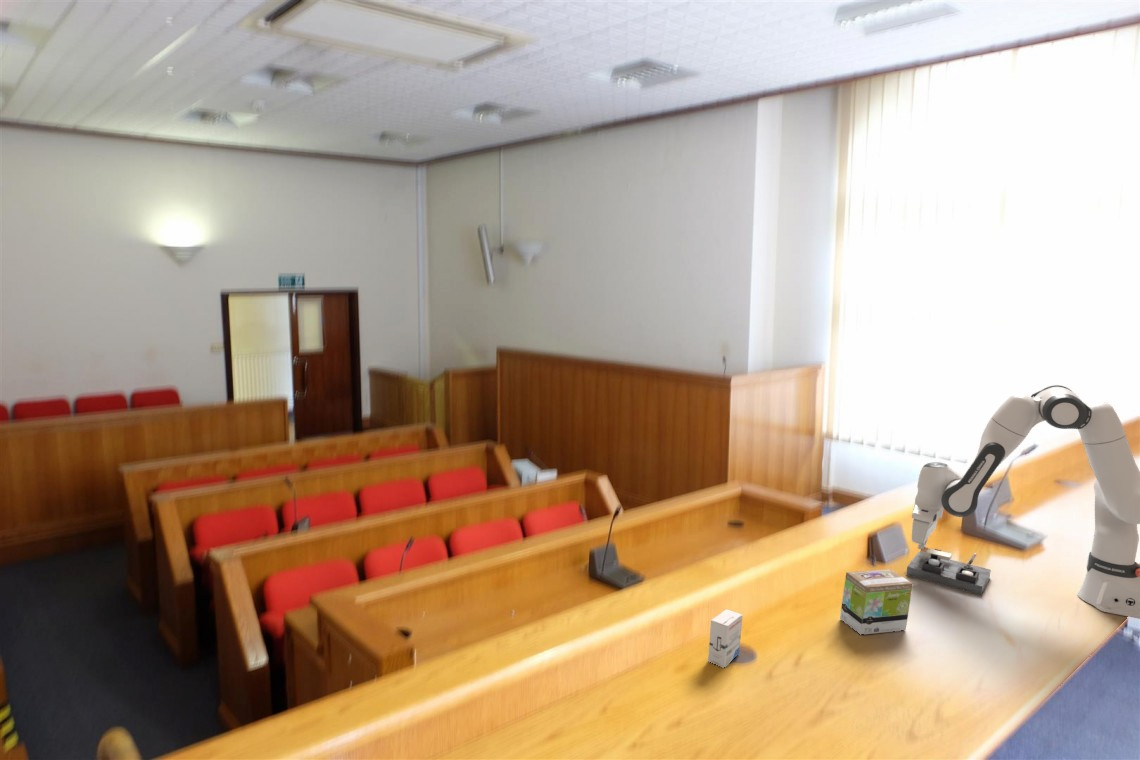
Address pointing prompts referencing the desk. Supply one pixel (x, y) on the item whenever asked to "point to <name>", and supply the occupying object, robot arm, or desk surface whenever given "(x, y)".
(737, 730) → the desk surface
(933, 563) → the button
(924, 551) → the rocker
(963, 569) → the panel
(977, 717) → the desk surface
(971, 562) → the toggle lever
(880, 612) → the tea box
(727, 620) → the ink box
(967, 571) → the button
